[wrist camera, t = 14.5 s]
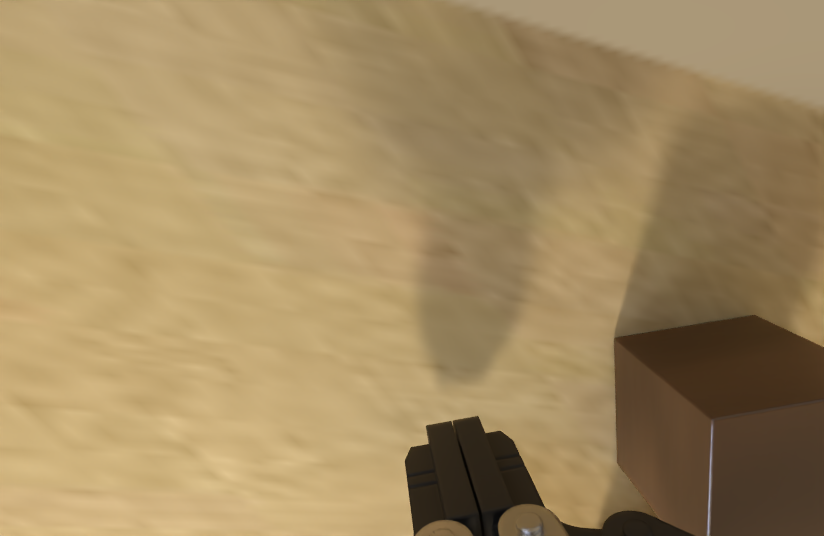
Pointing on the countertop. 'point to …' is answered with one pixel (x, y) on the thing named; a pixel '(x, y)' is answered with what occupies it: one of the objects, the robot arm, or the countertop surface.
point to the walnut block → (724, 427)
